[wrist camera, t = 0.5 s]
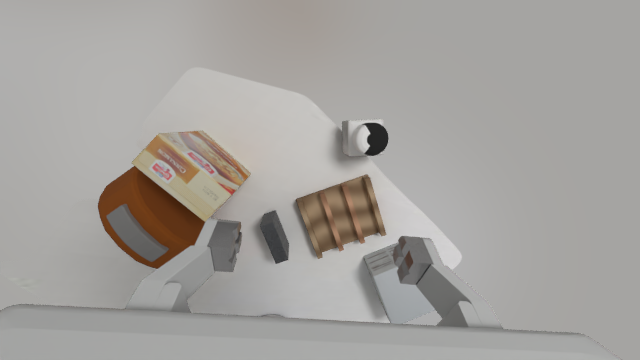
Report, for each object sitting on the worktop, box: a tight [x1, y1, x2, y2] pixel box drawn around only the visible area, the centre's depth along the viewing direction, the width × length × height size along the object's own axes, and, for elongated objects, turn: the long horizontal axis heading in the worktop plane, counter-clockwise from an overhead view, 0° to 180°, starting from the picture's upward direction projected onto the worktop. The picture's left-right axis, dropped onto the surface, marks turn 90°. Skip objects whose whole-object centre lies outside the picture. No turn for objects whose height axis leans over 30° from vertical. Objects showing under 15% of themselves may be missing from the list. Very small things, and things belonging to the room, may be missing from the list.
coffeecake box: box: [132, 131, 251, 222], centre depth 50 cm, size 15×7×20 cm, turn 45°
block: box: [260, 210, 289, 264], centre depth 61 cm, size 10×3×8 cm, turn 18°
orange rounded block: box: [98, 166, 205, 269], centre depth 53 cm, size 23×9×17 cm, turn 34°
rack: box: [296, 175, 386, 259], centre depth 64 cm, size 16×19×4 cm
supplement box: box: [364, 242, 435, 324], centre depth 67 cm, size 17×13×9 cm
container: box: [342, 119, 388, 157], centre depth 55 cm, size 8×8×13 cm
